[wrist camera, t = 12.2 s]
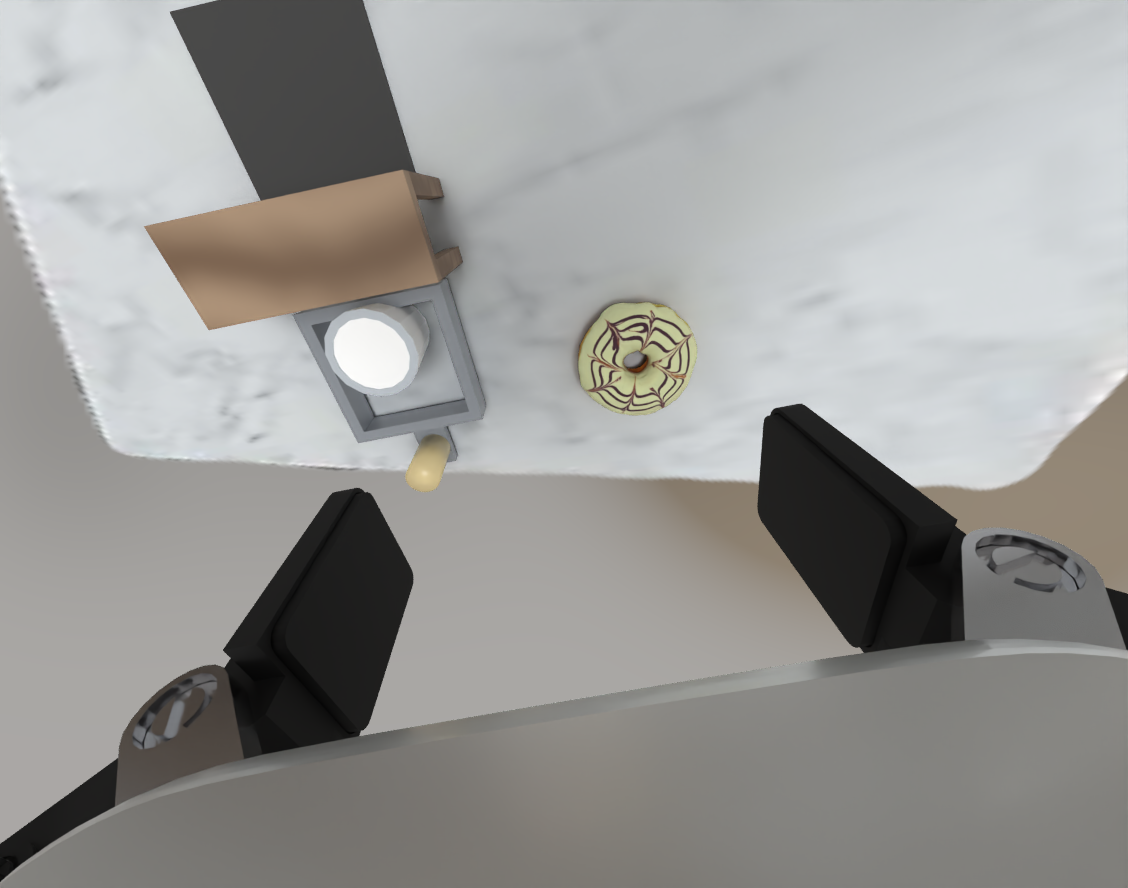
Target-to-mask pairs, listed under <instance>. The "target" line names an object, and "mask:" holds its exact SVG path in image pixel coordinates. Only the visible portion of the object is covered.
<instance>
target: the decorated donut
mask: <svg viewBox="0 0 1128 888" xmlns="http://www.w3.org/2000/svg"><path fill="white" fill-rule="evenodd" d="M635 351H639V352H641V353H643V354H646V355H647V360H646V362H645V363H644V364H643V365H642V366H641V367H638V368H637V369H636V368H635V369H631V368H629V369H628V368H626V366H625V365H624V362H623V361H624V358H625V357H626V356H627V355H628V354H631V353H634V352H635ZM696 359H697V344H696V341H695V338H694V336H693V333H692V331H691V330H690V327H689V326H688V324H687V323H686V322H685V321H684V320H683V319H681V318H680V317H679V316H678V315H677V314H676V312H675V311H673V310H672V309H671V308H669V307H667V306H664V305H660V304H658V305H656V304H652V303H650V302H644V303H618V304H613V305H611V306H610V307H608V308H607V309H606V310H605V311H604V312H603V313H602V314H601V315H600V317H599V319H598V320H597V321H596V322H595V323H594V324H593V325H592V326H591V328H590V329H589V330H588V331H587V333H586V335H585V336H584V338H583V340H582V342H581V344H580V349H579V354H578V369H579V374H580V381H581V386H582V387H583V389H584V390H585V391H586V392H587V393H588V394H589V396H590V397H591V398H592V399H593V400H595V401H596V402H597V403H599V404H601V405H602V406H603V407H605V408H607V409H609V410H611V411H614V412H616V413H620V414H627V415H647V414H651V413H654V412H656V411H658V410H660V409H662V408H664V407H666V406H668V405H669V404H670V403H672V402H673V401H675V400H676V399H677V398H678V397H679V396H680V395H681V393H682V392H683V391H684V389H685V388H686V387H687V385H688V383H689V380H690V377H691V374H692V371H693V368H694V365H695V363H696Z"/></svg>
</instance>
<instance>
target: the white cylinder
mask: <svg viewBox="0 0 1128 888" xmlns="http://www.w3.org/2000/svg"><path fill="white" fill-rule="evenodd" d="M429 334H430V330H429V328H428V325H427V322H426V319H425V318H424V316H423V315H422V314H421V313H420V311H419V310H418V309H417V308H416V307H414V306H413V305H406V306H401V307H395V306H390V305H385V304H381V303H376V304H371V305H365V306H361V307H358V308H355V309H352V310H349V311H346V312H344V313H342V314H341V315H340V316H338V317H337V318H336V319H335V320H333V321H332V322H331V323H330V326H329V328H328V330H327V332H326V335H325V337H324V340H325V355H326V357H327V359H328V361H329V363H330V365H331V368H332V370H333V371H334V372H335V373H336V375H337V376H338V377H339V378H340V379H341V380H342V381H343V382H344V383H345V384H346V385H348V386H350V387H352V388H354V389H356V390H357V391H359V392H361V393H363V394H368V395H374V396H380V397H382V396H388V395H393V394H398V393H399V392H401V391H402V390H404V389H405V388H407V387H408V386H409V385H410V384H411V383H412V381H413V379H414V377H415V375H416V374H417V372H418V369H419V367H420V364H421V362H422V359H423V357H424V354H425V352H426V349H427V346H428V344H429Z"/></svg>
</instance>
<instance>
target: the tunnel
mask: <svg viewBox="0 0 1128 888" xmlns="http://www.w3.org/2000/svg"><path fill="white" fill-rule="evenodd" d="M439 197H444V195H443V191H442V188H441V184H440V181H439V178H435V177H430V176H426V175H422V174H418V173H414V172H410V171H406V170H399V171H394V172H390V173H385V174H381V175H376V176H371V177H367V178H362V179H358V180H353V181H349V182H344V183H340V184H335V185H330V186H326V187H321V188H317V189H312V190H308V191H303V192H299V193H294V194H289V195H285V196H280V197H276V198H271V199H267V200H262V201H258V202H253V203H248V204H244V205H239V206H235V207H230V208H226V209H221V210H217V211H212V212H207V213H203V214H198V215H194V216H189V217H185V218H180V219H176V220H171V221H166V222H162V223H157V224H153V225H148V226H144V227H145V229H146V231H147V232H148V234H149V235H150V237H151V239H152V240H153V242H154V243H155V245H156V246H157V248H158V250H159V251H160V253H161V254H162V256H163V258H164V259H165V261H166V262H167V264H168V266H169V267H170V269H171V270H172V272H173V274H174V275H175V277H176V278H177V280H178V282H179V283H180V285H181V286H182V288H183V290H184V291H185V293H186V294H187V296H188V298H189V299H190V301H191V302H192V304H193V306H194V307H195V309H196V310H197V312H198V314H199V315H200V317H201V318H202V320H203V322H204V323H205V325H206V326H207V328H208V330H212V329H217V328H222V327H227V326H231V325H236V324H241V323H246V322H251V321H255V320H260V319H265V318H270V317H275V316H279V315H284V314H289V313H294V312H299V311H303V310H308V309H313V308H318V307H323V306H327V305H332V304H337V303H342V302H347V301H351V300H356V299H361V298H366V297H371V296H375V295H380V294H385V293H390V292H395V291H399V290H404V289H409V288H414V287H419V286H423V285H428V284H433V283H438V282H440V281H441V280H442V279H443V278H444V277H446V276H447V275H448V274H449V273H450V272H451V271H453V270H454V269H455V268H456V267H457V266H459V265H460V264H461V263H462V262H463V261H462V258H461V254H460V251H459V247H453V248H449V249H444V250H442V251H440V252H438V253H437V254H434V251H433V248H432V245H431V242H430V239H429V235H428V232H427V229H426V226H425V223H424V219H423V216H422V213H421V210H420V207H419V204H418V200H430V199H435V198H439ZM417 199H418V200H417Z"/></svg>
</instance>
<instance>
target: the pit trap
mask: <svg viewBox="0 0 1128 888" xmlns="http://www.w3.org/2000/svg"><path fill="white" fill-rule="evenodd" d="M170 14H171V16H172V18H173V20H174V22H175V24H176V26H177V28H178V30H179V32H180V34H181V36H182V38H183V40H184V43H185V45H186V47H187V49H188V51H189V53H190V55H191V57H192V59H193V61H194V63H195V65H196V67H197V69H198V72H199V74H200V76H201V78H202V80H203V82H204V84H205V86H206V88H207V90H208V92H209V94H210V96H211V98H212V100H213V103H214V105H215V107H216V109H217V111H218V113H219V115H220V117H221V119H222V121H223V123H224V125H225V127H226V129H227V132H228V134H229V136H230V138H231V140H232V142H233V144H234V146H235V148H236V150H237V152H238V154H239V156H240V158H241V160H242V163H243V165H244V167H245V169H246V171H247V173H248V175H249V177H250V179H251V181H252V183H253V185H254V187H255V189H256V192H257V194H258V196H259V198H260V200H261V201H262V200H267V199H271V198H276V197H280V196H285V195H289V194H294V193H299V192H303V191H308V190H312V189H317V188H321V187H326V186H330V185H335V184H340V183H344V182H349V181H353V180H358V179H362V178H367V177H371V176H376V175H381V174H385V173H390V172H394V171H399V170H406V171H410V172H414V173H415V169H414V166H413V163H412V160H411V156H410V153H409V150H408V147H407V143H406V140H405V137H404V134H403V130H402V127H401V124H400V121H399V117H398V114H397V111H396V108H395V105H394V101H393V98H392V95H391V92H390V88H389V85H388V82H387V79H386V75H385V72H384V69H383V66H382V62H381V59H380V56H379V53H378V49H377V46H376V43H375V40H374V36H373V33H372V30H371V27H370V23H369V20H368V17H367V14H366V10H365V7H364V4H363V1H362V0H217V1H213V2H209V3H205V4H200V5H196V6H192V7H188V8H184V9H180V10H175V11H171V12H170Z"/></svg>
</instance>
